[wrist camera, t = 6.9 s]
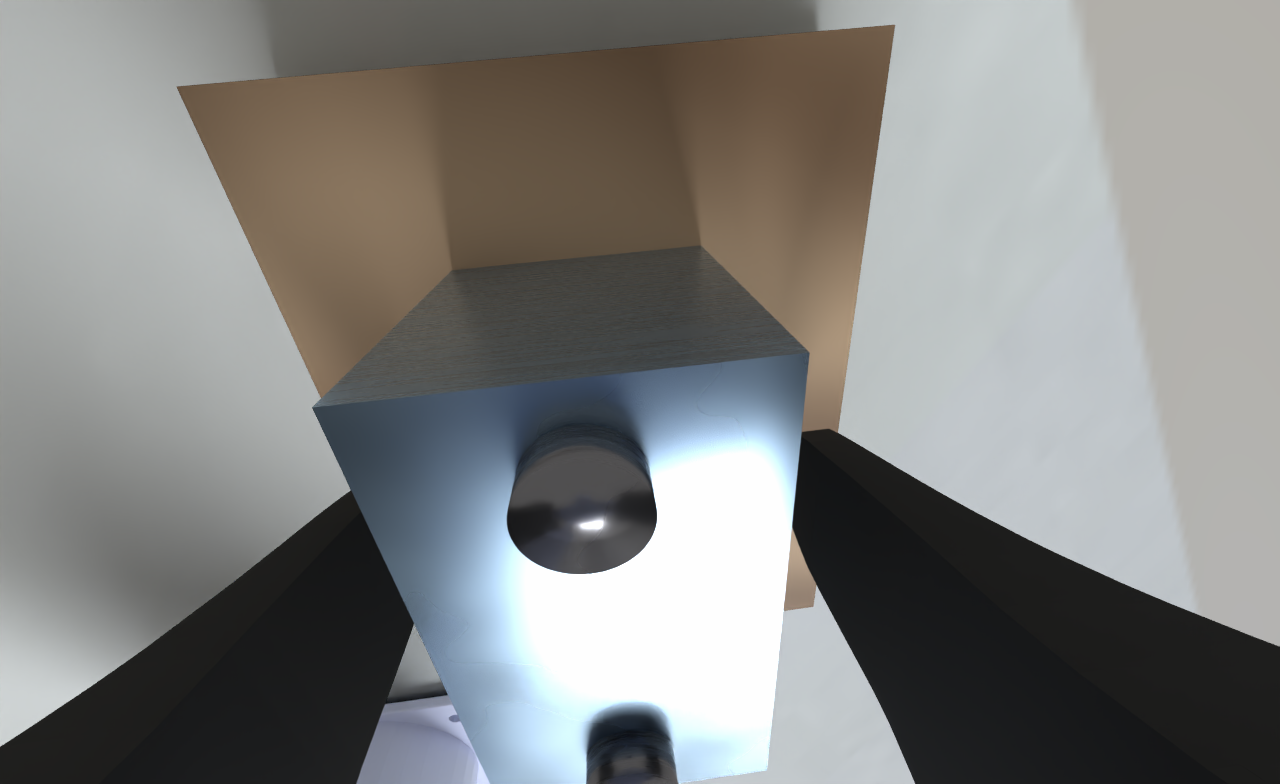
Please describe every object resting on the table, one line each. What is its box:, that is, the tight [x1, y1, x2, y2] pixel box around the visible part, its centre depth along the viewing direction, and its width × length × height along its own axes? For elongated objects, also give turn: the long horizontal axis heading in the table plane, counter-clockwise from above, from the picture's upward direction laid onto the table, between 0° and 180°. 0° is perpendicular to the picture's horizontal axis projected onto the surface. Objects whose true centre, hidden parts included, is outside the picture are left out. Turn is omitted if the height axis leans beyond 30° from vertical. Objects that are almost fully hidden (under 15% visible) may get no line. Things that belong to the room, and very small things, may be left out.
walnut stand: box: [177, 25, 895, 611], centre depth 12 cm, size 14×11×3 cm
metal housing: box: [312, 246, 810, 784], centre depth 8 cm, size 5×8×6 cm, turn 4°
